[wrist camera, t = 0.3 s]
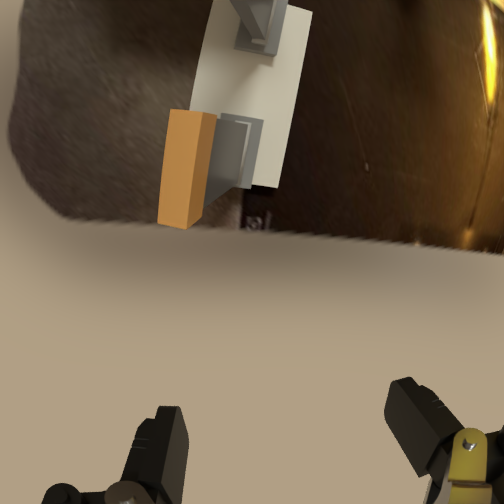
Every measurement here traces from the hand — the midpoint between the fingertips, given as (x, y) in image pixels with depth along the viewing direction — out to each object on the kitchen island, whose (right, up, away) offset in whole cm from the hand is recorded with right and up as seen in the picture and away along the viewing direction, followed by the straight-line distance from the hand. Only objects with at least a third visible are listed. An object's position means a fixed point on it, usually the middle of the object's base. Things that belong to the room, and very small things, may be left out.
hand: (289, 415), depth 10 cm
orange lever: (-3, +16, +19) cm, 25 cm away
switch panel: (-2, +24, +19) cm, 31 cm away
